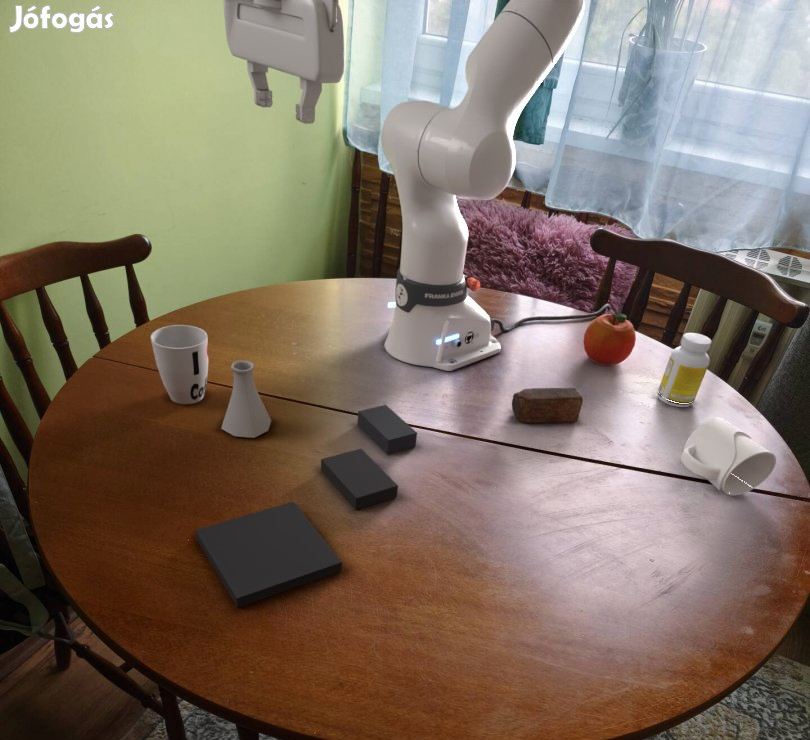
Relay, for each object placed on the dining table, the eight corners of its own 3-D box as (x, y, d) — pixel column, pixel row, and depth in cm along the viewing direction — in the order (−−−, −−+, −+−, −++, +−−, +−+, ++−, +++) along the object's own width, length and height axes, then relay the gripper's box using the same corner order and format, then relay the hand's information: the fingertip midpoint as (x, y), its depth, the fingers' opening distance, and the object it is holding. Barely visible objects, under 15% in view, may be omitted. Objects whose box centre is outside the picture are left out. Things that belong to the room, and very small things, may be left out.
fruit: (620, 351, 138) (635, 301, 131) (633, 373, 131) (650, 322, 124) (573, 347, 137) (586, 297, 131) (584, 369, 130) (599, 318, 123)
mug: (718, 457, 110) (738, 413, 105) (762, 490, 104) (786, 446, 99) (659, 469, 106) (677, 424, 101) (701, 505, 100) (723, 459, 94)
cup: (200, 413, 106) (193, 352, 99) (150, 403, 107) (140, 342, 100) (221, 388, 112) (216, 330, 106) (174, 380, 113) (166, 321, 106)
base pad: (293, 510, 90) (293, 501, 89) (341, 571, 82) (341, 562, 81) (196, 539, 84) (194, 529, 83) (237, 608, 76) (236, 598, 75)
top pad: (384, 418, 110) (385, 404, 108) (415, 446, 104) (417, 432, 103) (357, 425, 108) (358, 411, 106) (387, 454, 102) (388, 440, 100)
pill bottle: (699, 408, 122) (725, 346, 115) (666, 409, 121) (690, 347, 113) (681, 390, 127) (704, 330, 120) (649, 391, 126) (671, 330, 118)
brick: (569, 411, 117) (575, 386, 114) (577, 423, 114) (584, 398, 111) (509, 411, 115) (514, 386, 112) (516, 424, 112) (521, 398, 109)
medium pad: (360, 459, 100) (361, 448, 99) (397, 497, 94) (398, 485, 93) (320, 470, 97) (320, 458, 96) (355, 510, 91) (356, 498, 90)
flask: (279, 420, 106) (277, 360, 100) (256, 444, 101) (253, 382, 94) (237, 409, 108) (232, 349, 101) (212, 431, 102) (206, 369, 96)
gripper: (361, -20, 72) (355, 131, 81) (258, -37, 83) (263, 97, 92) (311, -24, 69) (310, 134, 78) (211, -42, 80) (220, 98, 89)
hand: (283, 114), depth 85 cm, fingers open, 8 cm apart
